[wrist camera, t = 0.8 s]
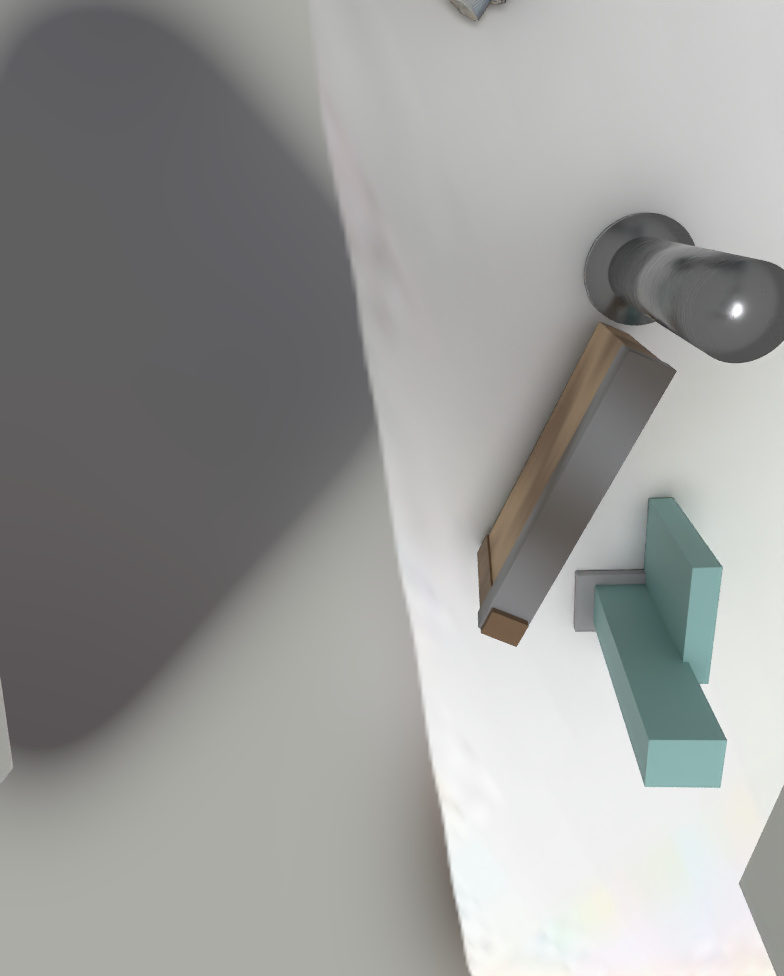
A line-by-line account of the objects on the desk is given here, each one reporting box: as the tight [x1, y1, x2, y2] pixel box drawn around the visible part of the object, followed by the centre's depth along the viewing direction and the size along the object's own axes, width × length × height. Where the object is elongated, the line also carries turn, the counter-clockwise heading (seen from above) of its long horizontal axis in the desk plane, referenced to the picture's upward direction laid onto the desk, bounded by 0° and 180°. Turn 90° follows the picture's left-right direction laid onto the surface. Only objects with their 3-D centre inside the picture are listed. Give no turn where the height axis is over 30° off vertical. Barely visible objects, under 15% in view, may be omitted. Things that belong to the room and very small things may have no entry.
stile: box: [574, 498, 727, 788], centre depth 26 cm, size 6×4×10 cm, turn 4°
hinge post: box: [584, 213, 784, 363], centre depth 21 cm, size 4×4×10 cm
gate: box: [477, 322, 676, 647], centre depth 25 cm, size 11×2×6 cm, turn 158°
